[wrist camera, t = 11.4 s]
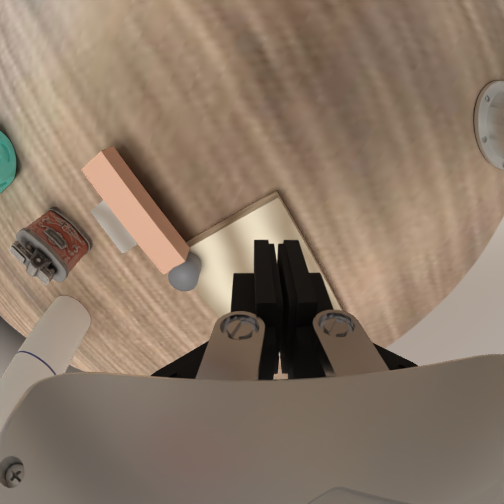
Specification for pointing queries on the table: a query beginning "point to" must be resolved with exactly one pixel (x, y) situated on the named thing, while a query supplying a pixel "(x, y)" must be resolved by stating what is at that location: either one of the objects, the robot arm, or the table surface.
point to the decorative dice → (6, 162)
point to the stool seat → (229, 247)
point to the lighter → (51, 246)
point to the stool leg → (143, 218)
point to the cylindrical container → (44, 351)
